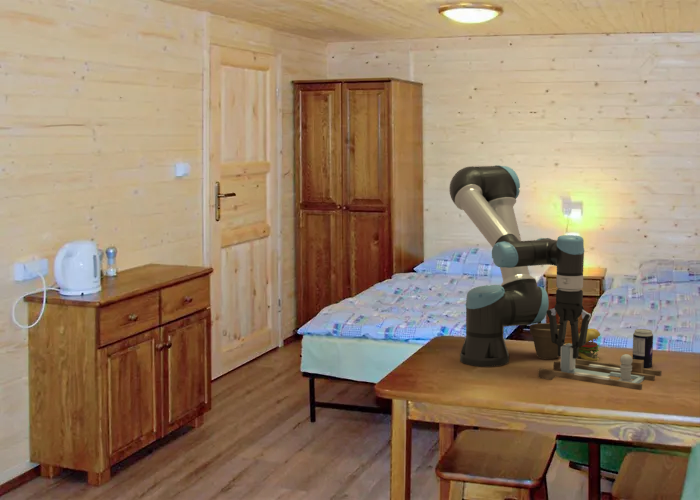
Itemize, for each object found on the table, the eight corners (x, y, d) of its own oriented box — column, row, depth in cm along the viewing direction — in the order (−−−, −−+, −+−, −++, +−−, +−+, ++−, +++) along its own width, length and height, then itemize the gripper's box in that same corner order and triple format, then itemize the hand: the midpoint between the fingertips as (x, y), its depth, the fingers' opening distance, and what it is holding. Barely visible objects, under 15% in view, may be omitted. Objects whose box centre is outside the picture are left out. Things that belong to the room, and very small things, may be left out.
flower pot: (535, 351, 297) (536, 321, 295) (570, 355, 291) (570, 324, 290) (524, 358, 287) (524, 327, 286) (559, 363, 281) (559, 331, 280)
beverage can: (653, 372, 269) (654, 333, 267) (633, 371, 270) (634, 332, 268) (650, 367, 274) (652, 328, 273) (631, 367, 275) (632, 328, 274)
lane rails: (538, 377, 264) (538, 367, 264) (562, 364, 279) (563, 354, 279) (640, 394, 247) (640, 382, 247) (661, 379, 262) (661, 368, 261)
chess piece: (639, 385, 255) (640, 354, 254) (626, 389, 252) (627, 357, 251) (623, 381, 259) (624, 351, 258) (611, 384, 256) (612, 353, 255)
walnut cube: (626, 375, 262) (626, 361, 261) (629, 372, 265) (629, 358, 265) (640, 376, 260) (641, 363, 259) (643, 373, 263) (643, 360, 263)
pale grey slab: (558, 378, 262) (558, 347, 261) (570, 371, 270) (571, 341, 269) (633, 390, 250) (634, 358, 248) (644, 382, 257) (645, 351, 256)
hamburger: (598, 365, 277) (599, 327, 276) (574, 363, 280) (574, 325, 278) (601, 360, 284) (601, 322, 283) (577, 358, 287) (578, 320, 285)
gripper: (539, 288, 264) (538, 367, 267) (590, 293, 255) (587, 374, 258) (550, 284, 270) (548, 362, 273) (599, 289, 261) (597, 369, 264)
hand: (567, 368), depth 265 cm, fingers closed on pale grey slab, 2 cm apart
